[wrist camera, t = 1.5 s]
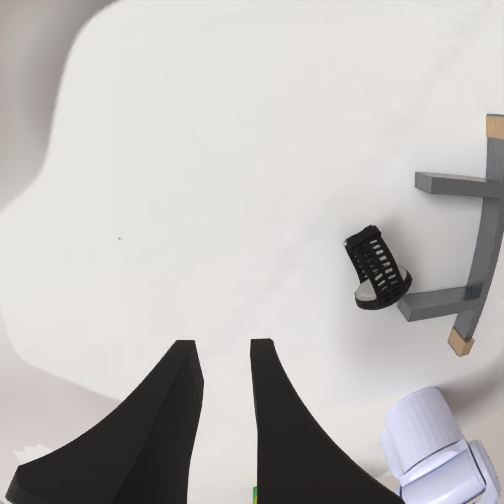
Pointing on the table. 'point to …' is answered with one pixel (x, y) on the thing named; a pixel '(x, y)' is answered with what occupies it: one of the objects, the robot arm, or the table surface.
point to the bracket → (487, 249)
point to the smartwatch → (382, 281)
